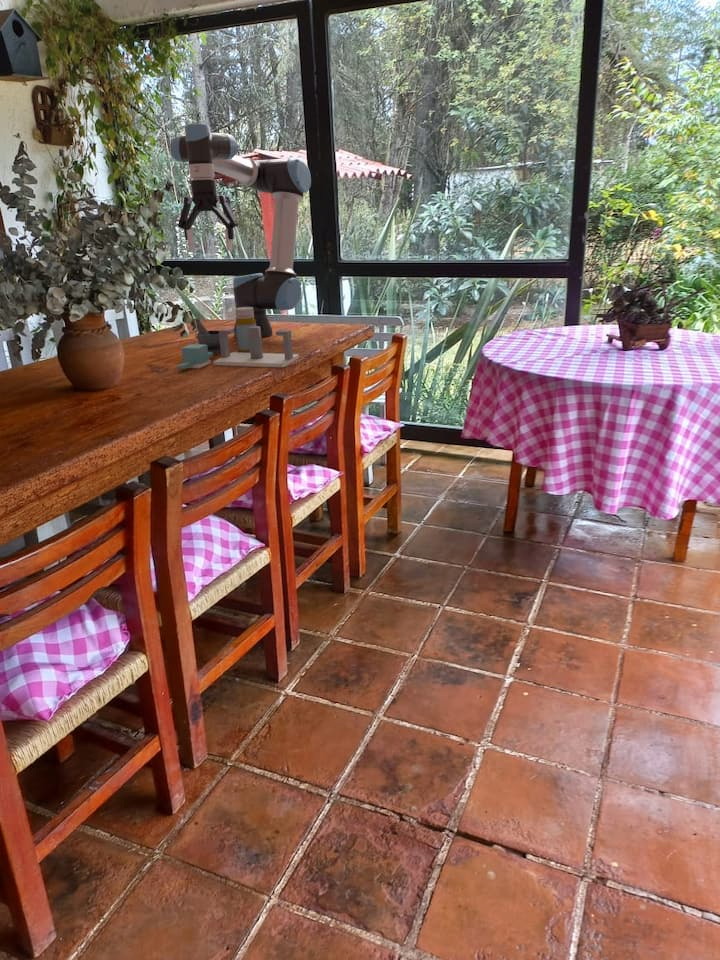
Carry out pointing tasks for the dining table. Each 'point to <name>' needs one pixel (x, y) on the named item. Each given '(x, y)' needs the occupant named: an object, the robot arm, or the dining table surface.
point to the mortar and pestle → (208, 338)
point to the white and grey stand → (255, 350)
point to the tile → (200, 365)
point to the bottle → (244, 327)
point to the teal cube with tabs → (194, 355)
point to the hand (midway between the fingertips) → (210, 250)
